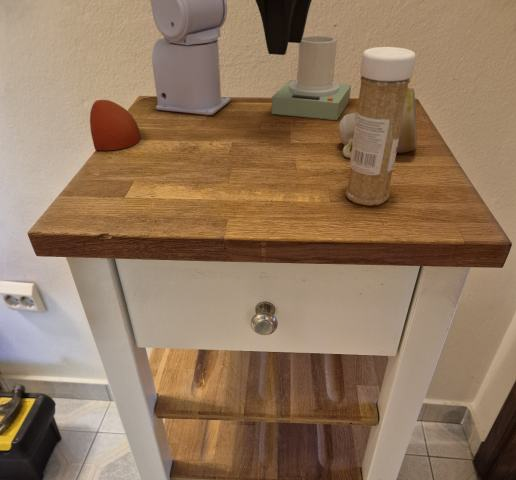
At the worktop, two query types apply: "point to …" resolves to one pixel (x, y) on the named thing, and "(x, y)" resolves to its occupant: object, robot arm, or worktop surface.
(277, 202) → the worktop surface
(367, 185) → the sprinkles bottle
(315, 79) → the white hollow cylinder
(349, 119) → the mug
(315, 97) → the kitchen scale
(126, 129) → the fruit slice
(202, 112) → the robot arm
